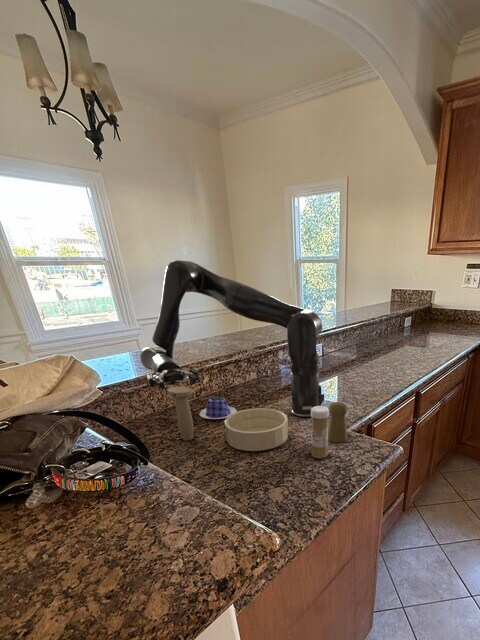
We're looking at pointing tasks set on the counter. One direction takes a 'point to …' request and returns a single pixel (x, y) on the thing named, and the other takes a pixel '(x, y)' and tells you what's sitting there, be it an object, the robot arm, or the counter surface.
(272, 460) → the counter surface
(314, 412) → the sprinkles bottle
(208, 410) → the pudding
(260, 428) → the bowl
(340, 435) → the green pepper mill
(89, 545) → the counter surface
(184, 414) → the handle
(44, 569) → the counter surface
